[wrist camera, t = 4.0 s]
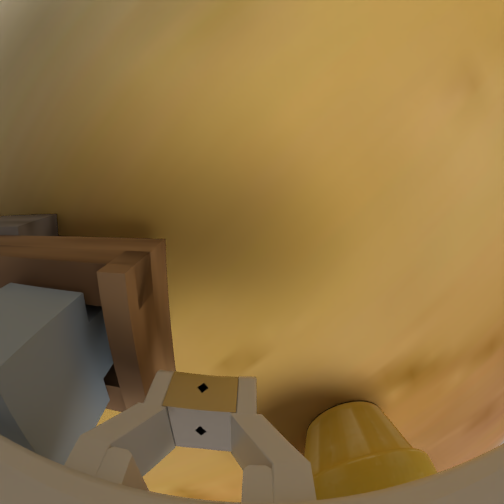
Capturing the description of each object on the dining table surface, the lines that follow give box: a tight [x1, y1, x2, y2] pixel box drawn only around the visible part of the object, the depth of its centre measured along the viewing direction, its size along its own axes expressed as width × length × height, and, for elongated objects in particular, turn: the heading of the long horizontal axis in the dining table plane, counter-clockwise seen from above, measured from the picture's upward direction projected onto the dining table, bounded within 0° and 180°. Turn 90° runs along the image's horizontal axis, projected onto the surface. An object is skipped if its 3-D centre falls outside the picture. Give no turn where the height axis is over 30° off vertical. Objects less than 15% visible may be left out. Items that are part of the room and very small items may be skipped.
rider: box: [0, 283, 113, 465], centre depth 8 cm, size 5×4×7 cm
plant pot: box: [304, 401, 437, 500], centre depth 16 cm, size 10×10×10 cm
